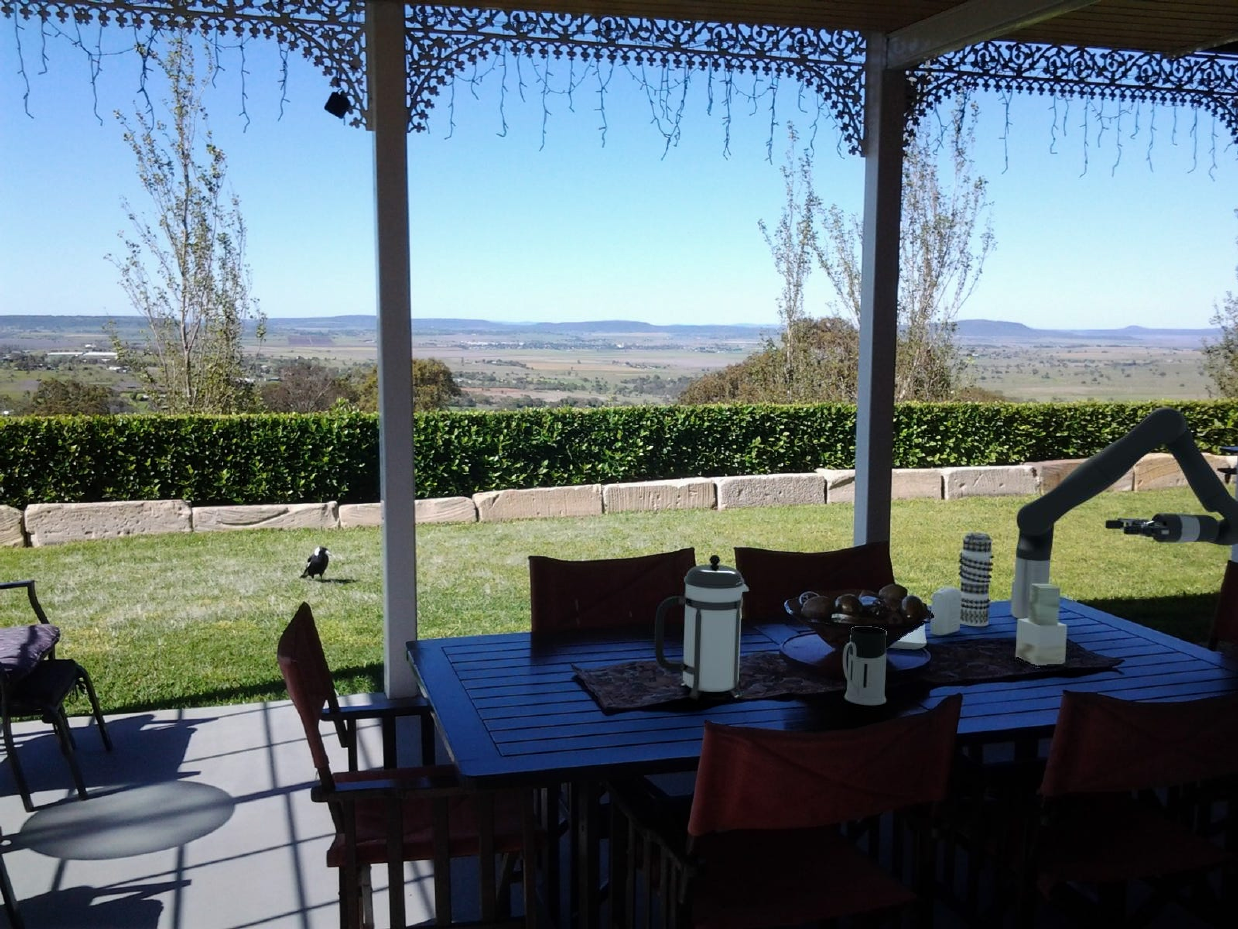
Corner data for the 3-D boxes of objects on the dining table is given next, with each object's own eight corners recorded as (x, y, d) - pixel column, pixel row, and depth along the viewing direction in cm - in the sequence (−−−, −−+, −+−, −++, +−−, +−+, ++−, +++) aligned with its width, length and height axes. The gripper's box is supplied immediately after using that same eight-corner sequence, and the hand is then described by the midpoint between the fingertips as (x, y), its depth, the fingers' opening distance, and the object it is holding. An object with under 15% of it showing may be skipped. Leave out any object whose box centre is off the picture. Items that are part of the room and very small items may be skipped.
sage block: (1028, 619, 269) (1030, 583, 268) (1047, 619, 269) (1050, 583, 268) (1037, 625, 264) (1040, 588, 263) (1057, 625, 264) (1060, 588, 263)
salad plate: (839, 648, 277) (839, 635, 276) (842, 628, 297) (843, 616, 297) (926, 656, 272) (927, 642, 271) (924, 635, 292) (924, 622, 292)
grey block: (1016, 639, 270) (1017, 619, 269) (1043, 637, 272) (1044, 617, 272) (1038, 647, 262) (1039, 627, 262) (1065, 645, 265) (1067, 625, 264)
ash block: (1015, 658, 270) (1016, 639, 270) (1042, 657, 273) (1044, 637, 272) (1036, 668, 263) (1037, 647, 262) (1064, 666, 265) (1065, 645, 265)
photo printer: (947, 627, 299) (949, 583, 298) (961, 630, 296) (964, 585, 295) (927, 633, 292) (930, 588, 291) (942, 637, 289) (944, 591, 288)
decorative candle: (967, 616, 312) (972, 530, 310) (996, 623, 305) (1002, 534, 303) (948, 621, 306) (953, 532, 304) (978, 628, 299) (983, 537, 297)
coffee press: (698, 675, 249) (702, 545, 246) (758, 690, 239) (763, 555, 236) (651, 693, 236) (655, 555, 233) (712, 709, 226) (717, 566, 223)
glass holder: (893, 698, 236) (897, 630, 235) (860, 714, 226) (863, 642, 224) (857, 689, 242) (860, 623, 240) (823, 704, 231) (826, 634, 230)
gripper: (1159, 509, 288) (1101, 508, 286) (1193, 517, 274) (1132, 517, 272) (1157, 537, 289) (1098, 536, 287) (1190, 547, 275) (1129, 546, 273)
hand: (1115, 527), depth 279 cm, fingers open, 8 cm apart
